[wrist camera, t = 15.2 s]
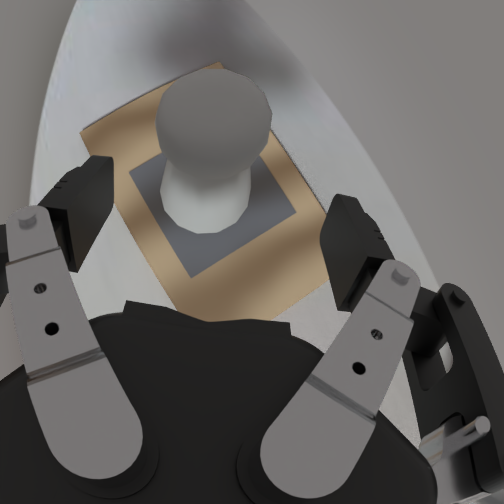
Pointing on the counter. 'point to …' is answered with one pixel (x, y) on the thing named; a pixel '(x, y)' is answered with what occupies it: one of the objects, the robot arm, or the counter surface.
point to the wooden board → (225, 241)
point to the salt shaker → (210, 146)
